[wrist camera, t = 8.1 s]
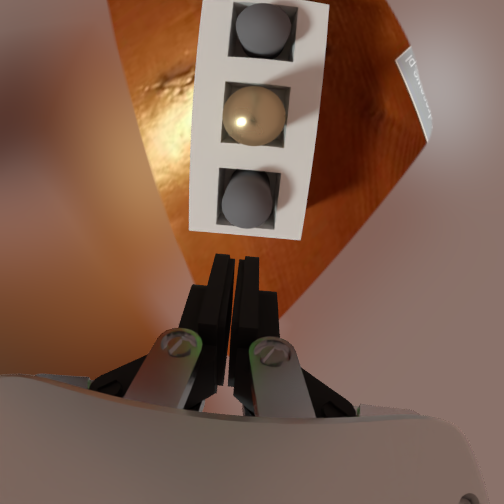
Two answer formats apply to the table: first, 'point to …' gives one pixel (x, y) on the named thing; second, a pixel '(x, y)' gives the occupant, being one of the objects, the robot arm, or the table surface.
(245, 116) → the brass knob
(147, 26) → the table surface
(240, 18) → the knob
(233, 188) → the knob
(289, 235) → the white peg holder block
